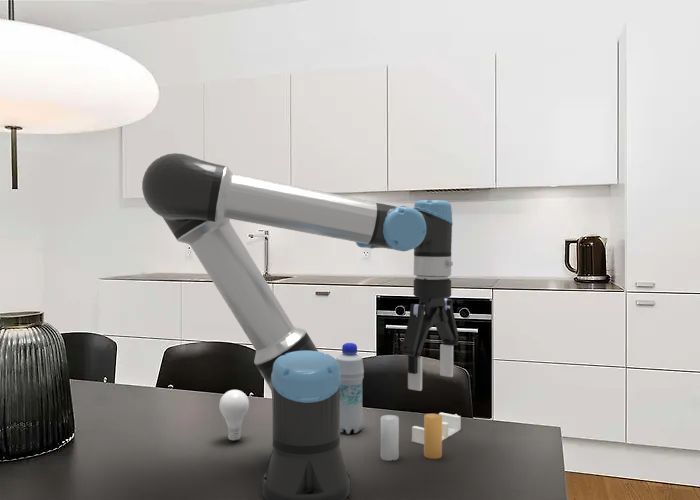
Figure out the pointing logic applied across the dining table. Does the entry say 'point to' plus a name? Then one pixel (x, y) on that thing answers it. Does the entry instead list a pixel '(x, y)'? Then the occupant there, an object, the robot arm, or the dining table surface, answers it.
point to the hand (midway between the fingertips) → (431, 382)
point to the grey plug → (389, 437)
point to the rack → (449, 427)
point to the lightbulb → (234, 411)
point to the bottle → (350, 389)
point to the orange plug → (433, 436)
